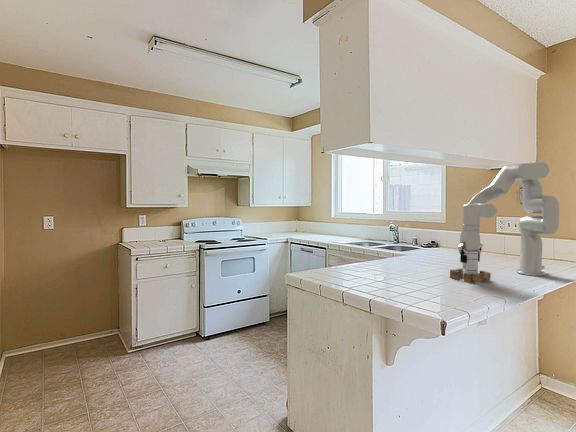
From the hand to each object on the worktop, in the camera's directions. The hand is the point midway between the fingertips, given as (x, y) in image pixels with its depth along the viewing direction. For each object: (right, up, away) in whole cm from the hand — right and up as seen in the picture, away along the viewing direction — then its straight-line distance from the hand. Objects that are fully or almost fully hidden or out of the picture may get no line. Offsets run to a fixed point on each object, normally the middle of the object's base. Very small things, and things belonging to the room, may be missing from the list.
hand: (470, 261), depth 167 cm
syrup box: (0, -9, 0) cm, 9 cm away
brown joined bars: (0, -9, 0) cm, 9 cm away
